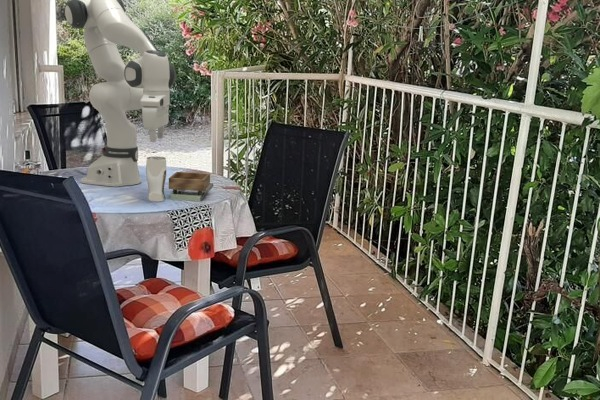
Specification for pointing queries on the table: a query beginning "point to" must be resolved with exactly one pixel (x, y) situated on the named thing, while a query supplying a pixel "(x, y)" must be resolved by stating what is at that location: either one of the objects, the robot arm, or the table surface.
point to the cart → (189, 181)
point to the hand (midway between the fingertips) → (156, 140)
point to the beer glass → (156, 178)
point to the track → (190, 195)
